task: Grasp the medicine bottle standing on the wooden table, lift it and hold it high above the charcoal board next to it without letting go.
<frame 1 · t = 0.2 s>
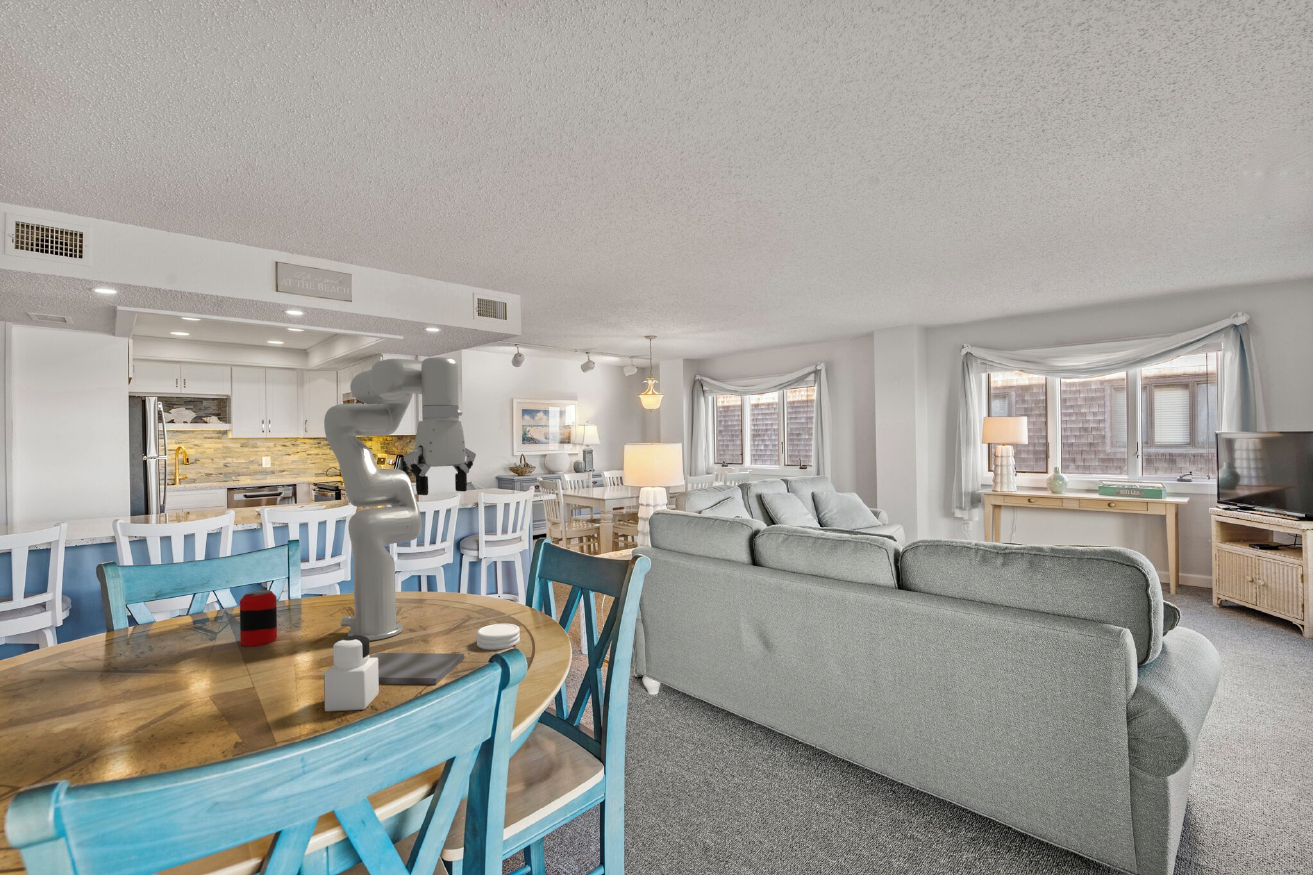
hand: (442, 493, 135), 37 cm above the table, tool pointing down, fingers open, 9 cm apart
coaster: (498, 644, 147), on the table
medicine bottle: (352, 703, 115), on the table
charcoal board: (405, 670, 130), on the table
soda can: (259, 642, 151), on the table
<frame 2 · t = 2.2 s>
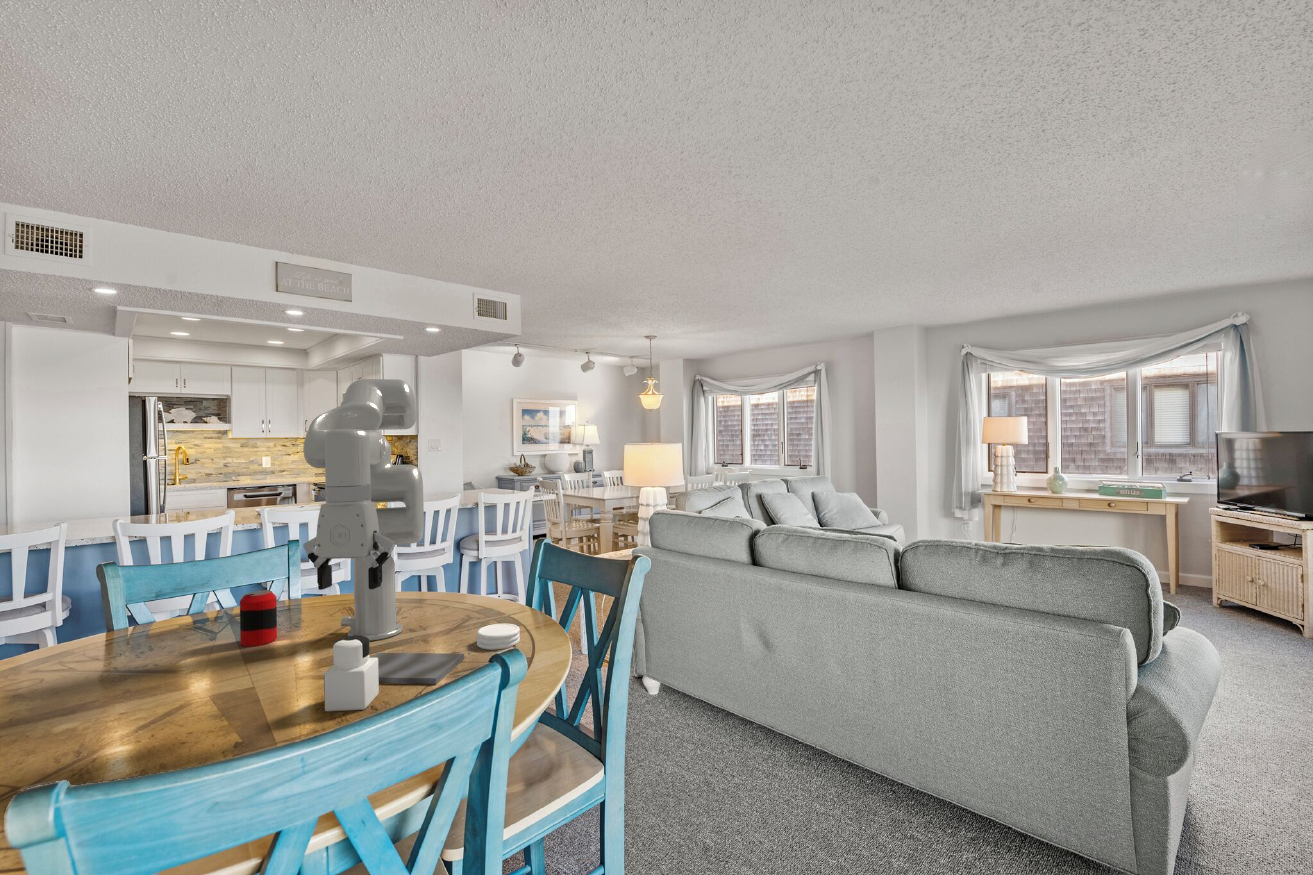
hand: (350, 587, 114), 21 cm above the table, tool pointing down, fingers open, 9 cm apart
nothing on the table moved.
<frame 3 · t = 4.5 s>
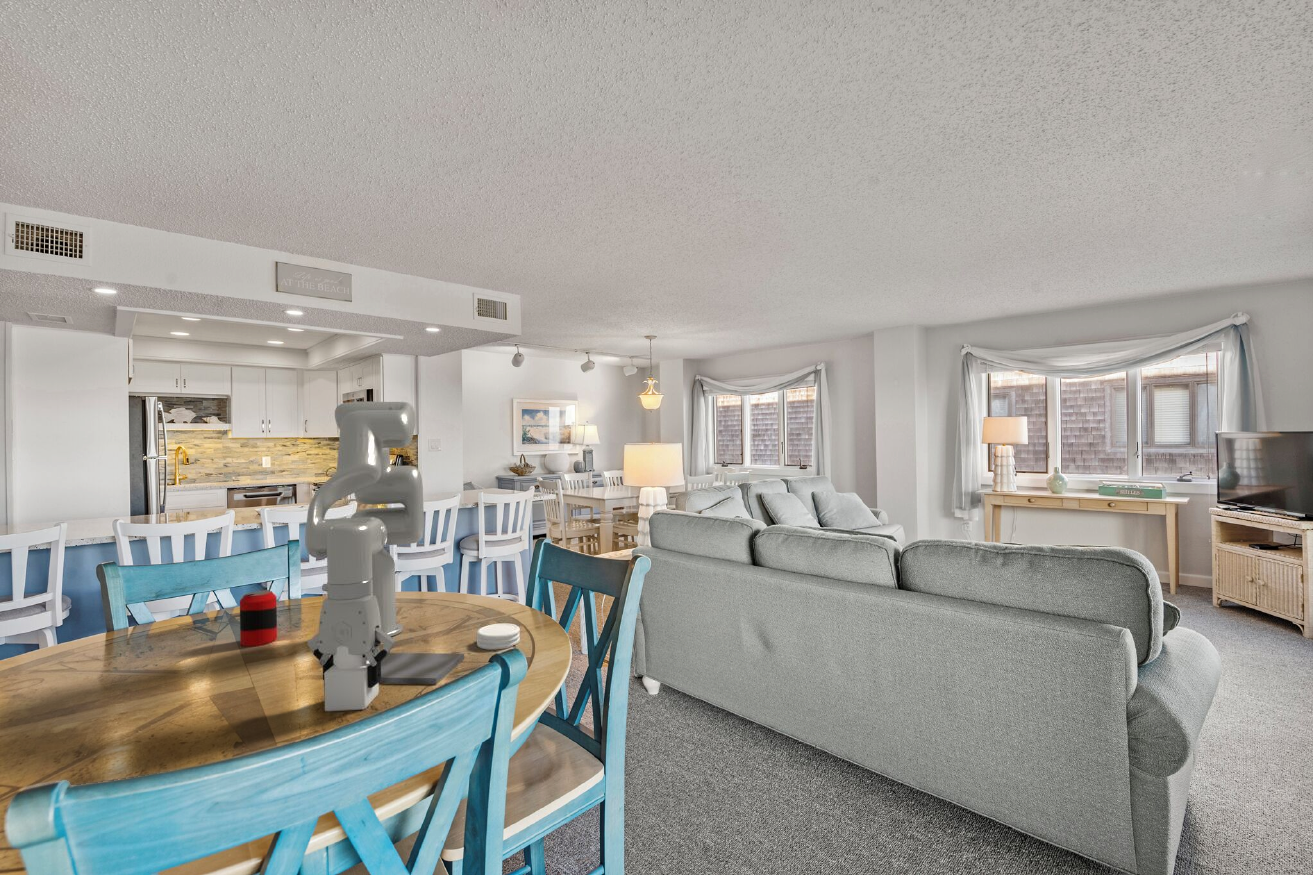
hand: (352, 684, 115), 3 cm above the table, tool pointing down, fingers closed on medicine bottle, 7 cm apart
medicine bottle: (352, 703, 115), on the table, touching gripper
everything else where it was.
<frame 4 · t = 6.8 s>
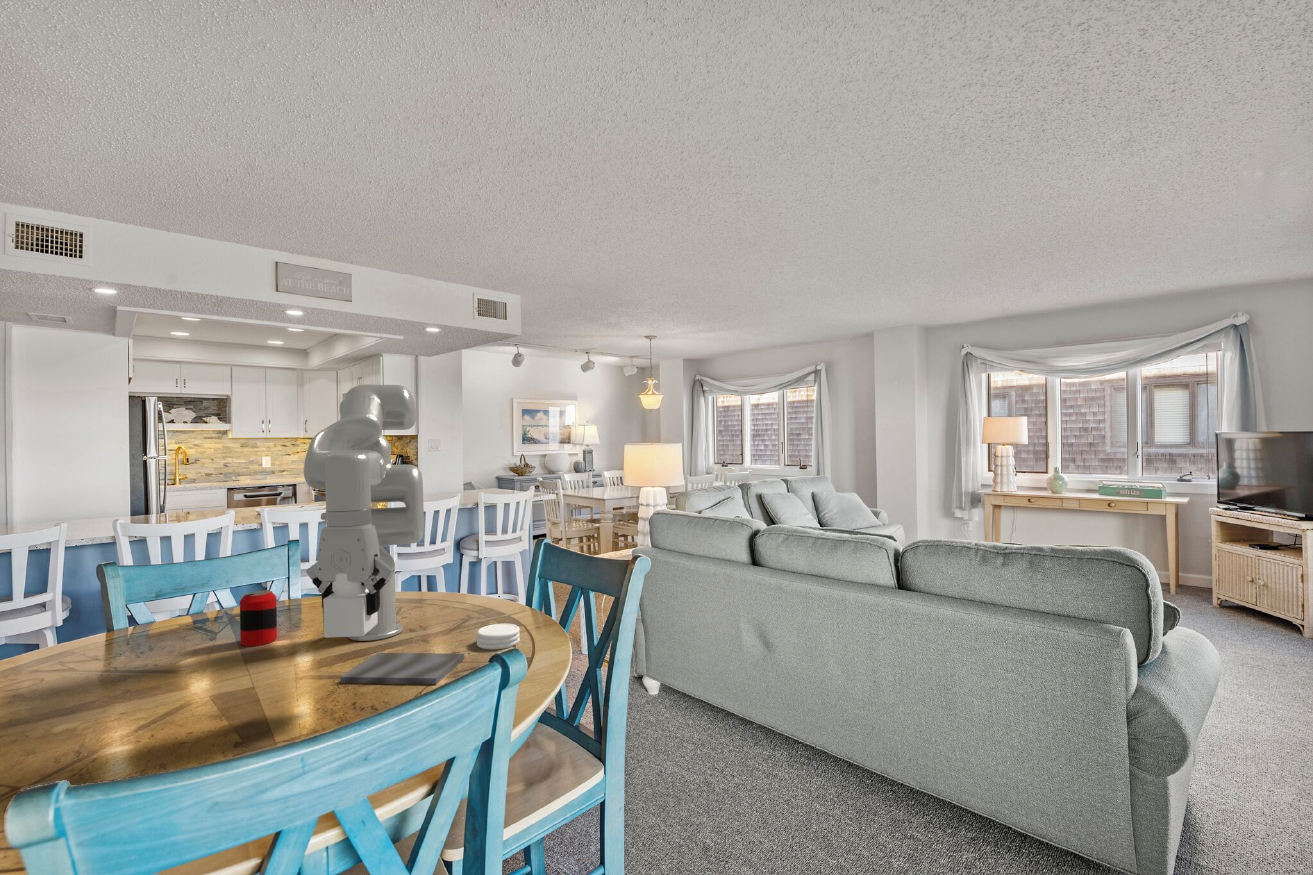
hand: (351, 612, 115), 17 cm above the table, tool pointing down, fingers closed on medicine bottle, 7 cm apart
medicine bottle: (351, 631, 115), point 13 cm above the table, touching gripper
everything else where it was.
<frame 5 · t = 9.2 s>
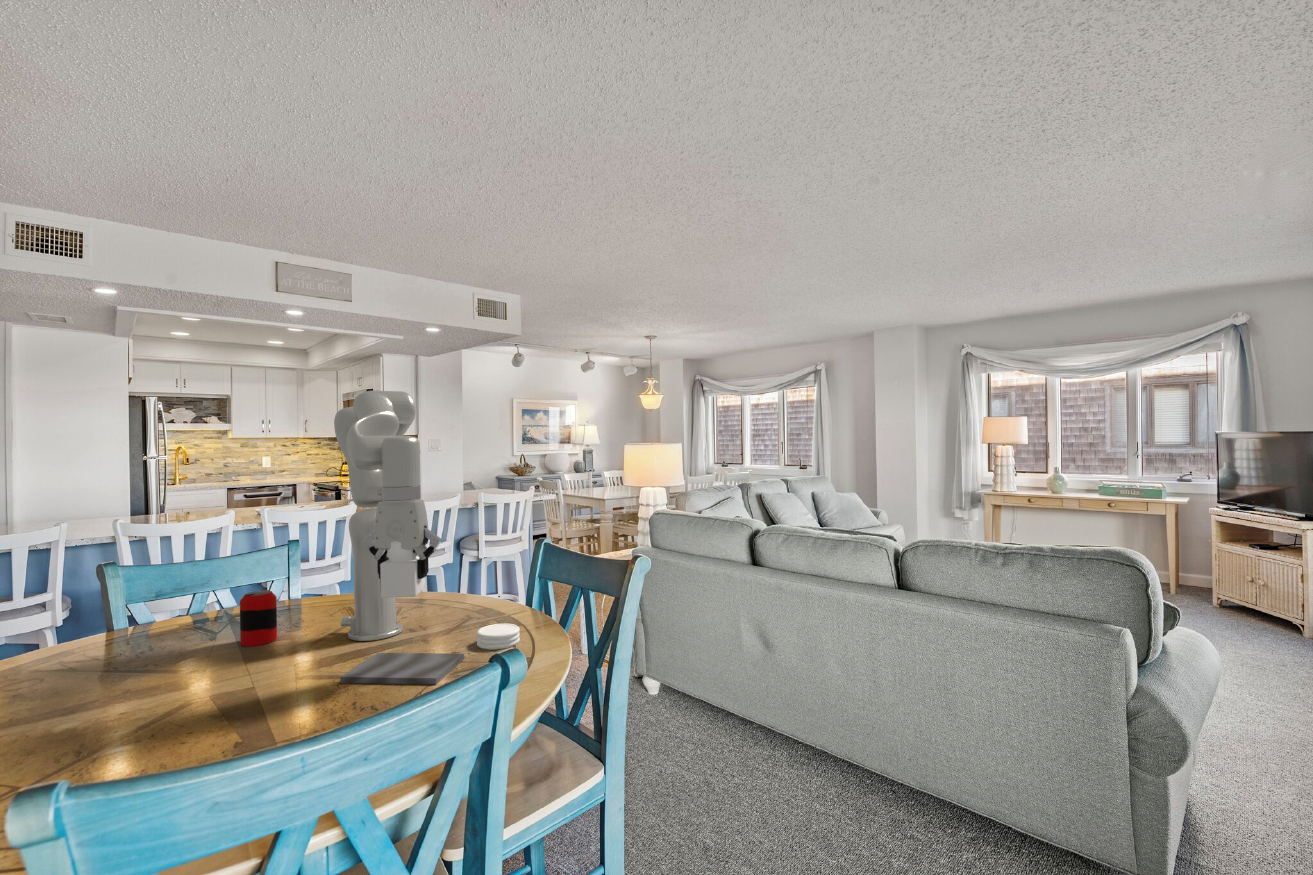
hand: (403, 577, 131), 20 cm above the table, tool pointing down, fingers closed on medicine bottle, 7 cm apart
medicine bottle: (403, 594, 131), point 16 cm above the table, touching gripper
everything else where it was.
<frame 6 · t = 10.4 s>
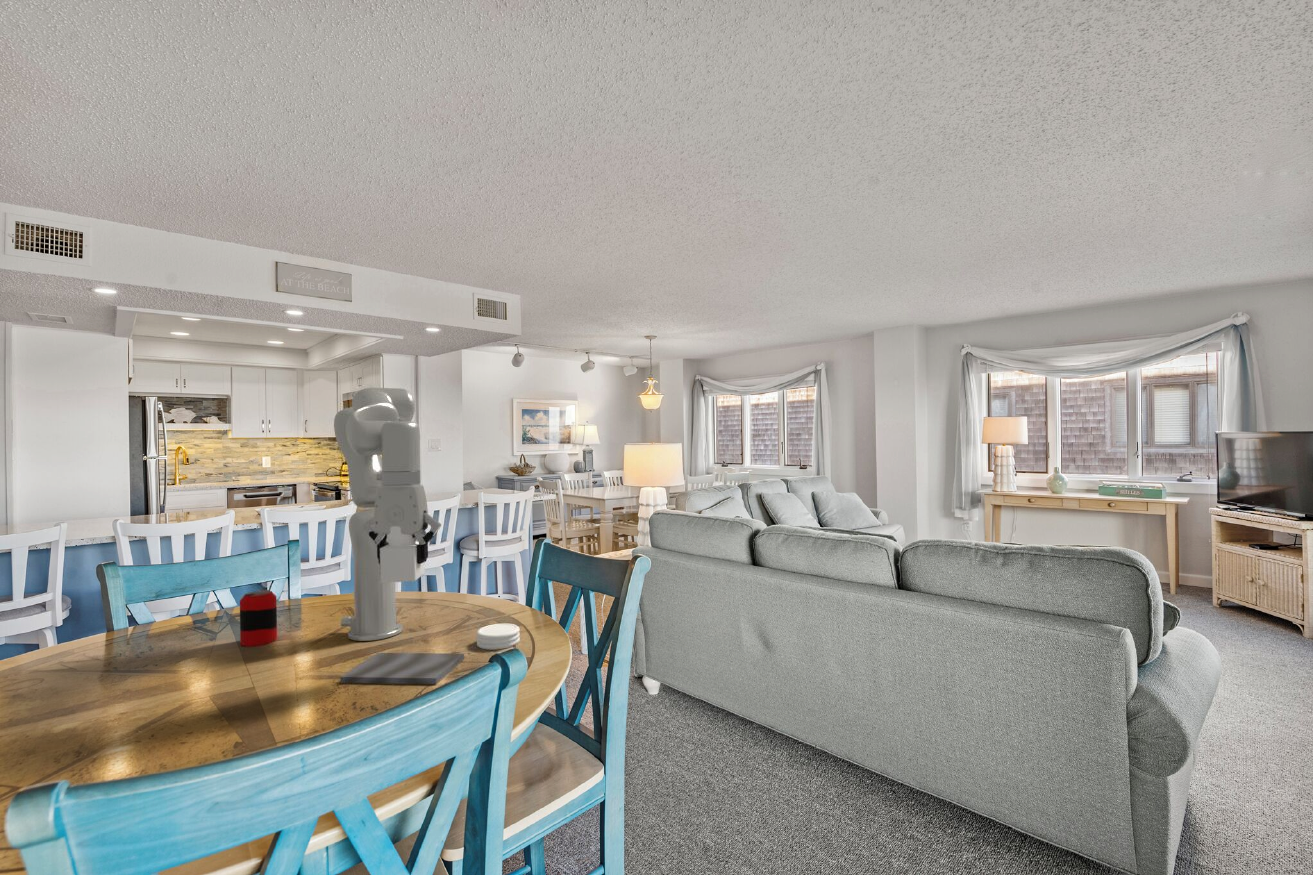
hand: (402, 561, 131), 23 cm above the table, tool pointing down, fingers closed on medicine bottle, 7 cm apart
medicine bottle: (403, 579, 131), point 19 cm above the table, touching gripper
everything else where it was.
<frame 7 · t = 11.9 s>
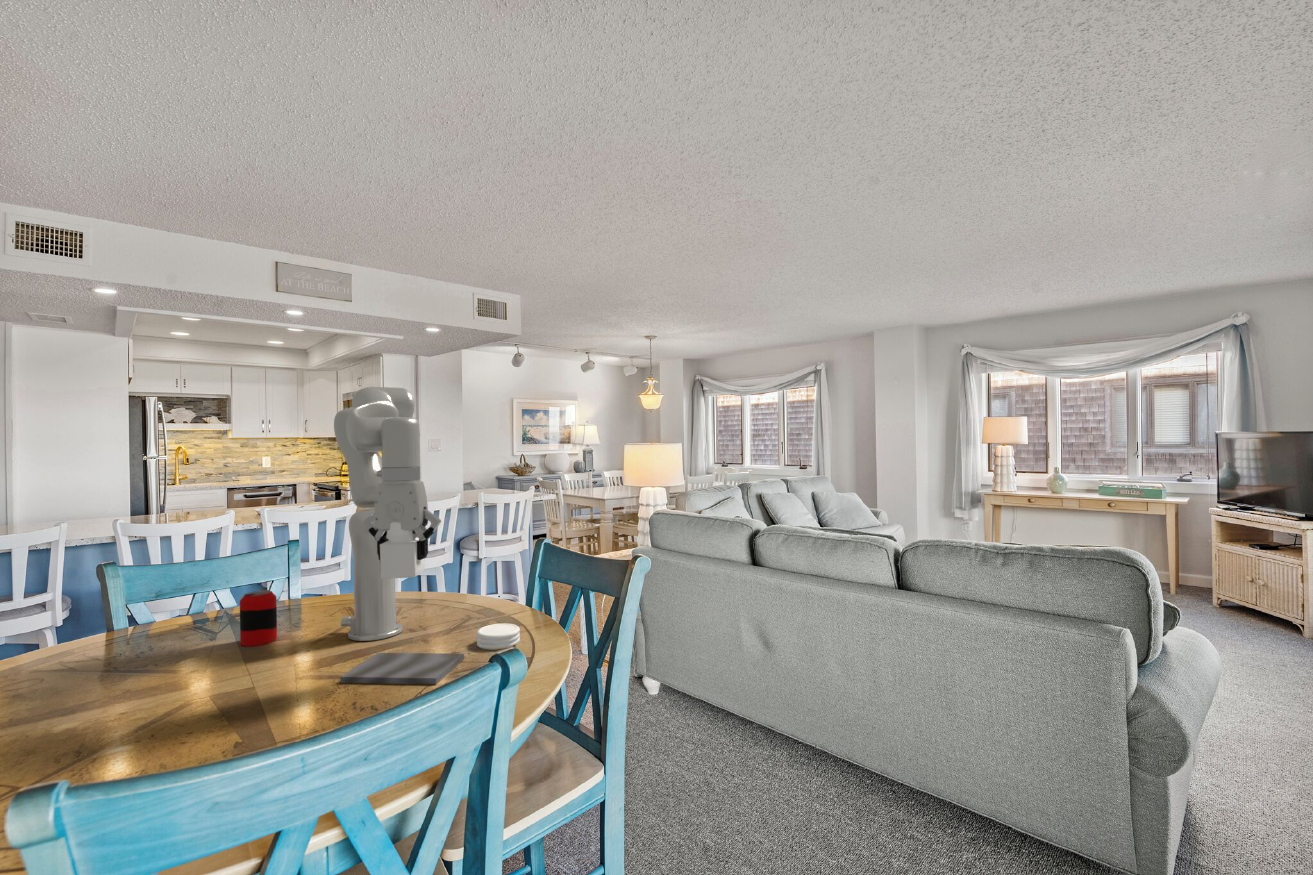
hand: (402, 558, 131), 24 cm above the table, tool pointing down, fingers closed on medicine bottle, 7 cm apart
medicine bottle: (403, 575, 131), point 20 cm above the table, touching gripper
everything else where it was.
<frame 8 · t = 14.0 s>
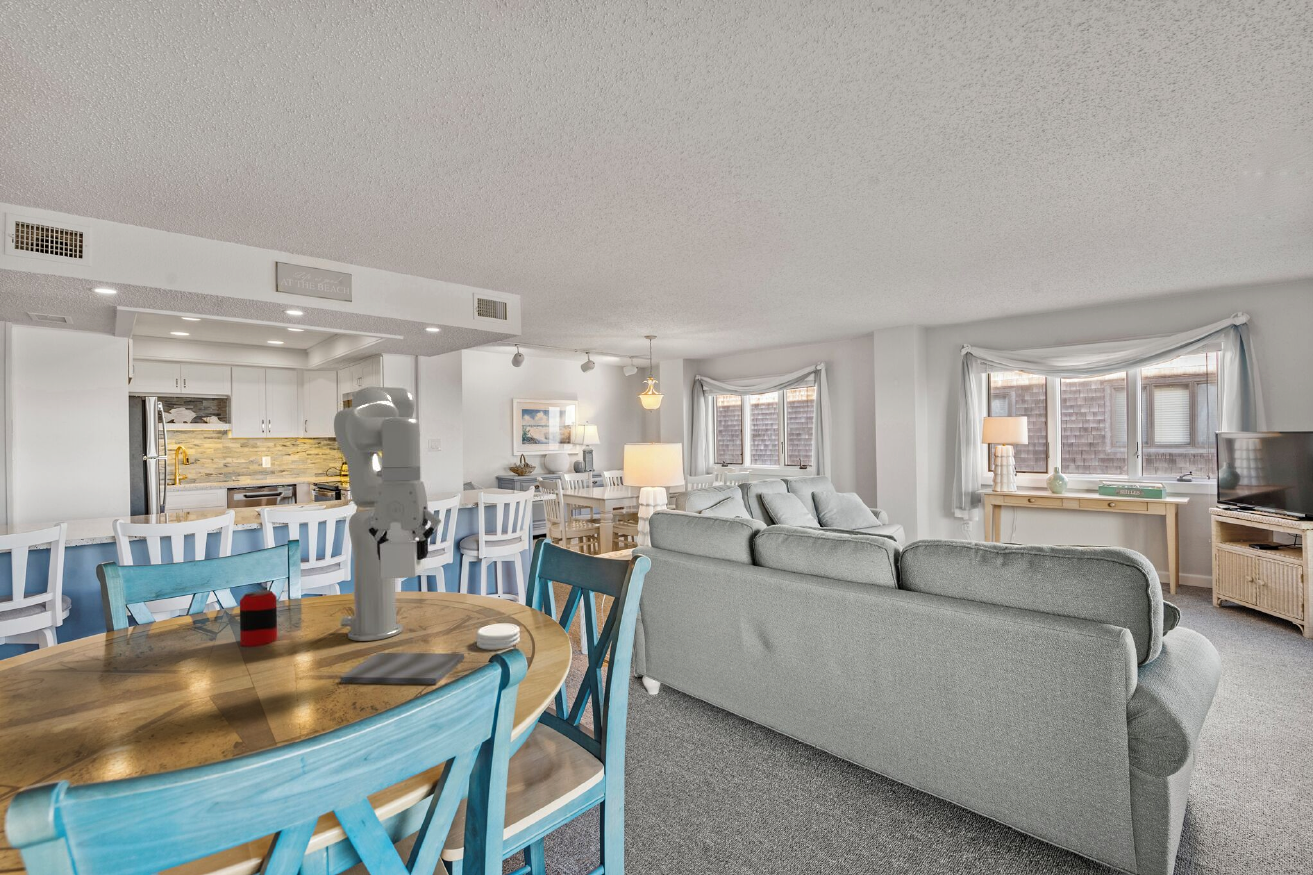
hand: (402, 558, 131), 24 cm above the table, tool pointing down, fingers closed on medicine bottle, 7 cm apart
medicine bottle: (403, 575, 131), point 20 cm above the table, touching gripper
everything else where it was.
at the end: the gripper is holding medicine bottle; medicine bottle inside the target area on the charcoal board (0.1 cm from its centre), point 20.1 cm above the charcoal board's base; medicine bottle tilted 0° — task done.
